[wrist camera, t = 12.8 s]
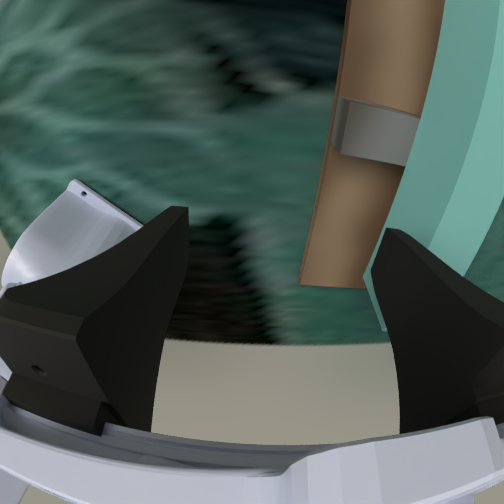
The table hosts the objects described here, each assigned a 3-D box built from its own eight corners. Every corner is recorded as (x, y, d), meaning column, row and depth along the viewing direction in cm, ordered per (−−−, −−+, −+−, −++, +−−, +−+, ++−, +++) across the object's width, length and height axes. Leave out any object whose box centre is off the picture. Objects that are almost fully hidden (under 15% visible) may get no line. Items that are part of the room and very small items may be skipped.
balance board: (298, 276, 26) (303, 307, 23) (352, -61, 11) (369, -79, 8) (421, 284, 26) (435, 310, 23) (498, 5, 11) (528, 5, 8)
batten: (403, 281, 21) (427, 332, 17) (362, 276, 21) (382, 330, 17) (490, 16, 10) (546, 20, 6) (446, -11, 9) (500, -19, 5)
